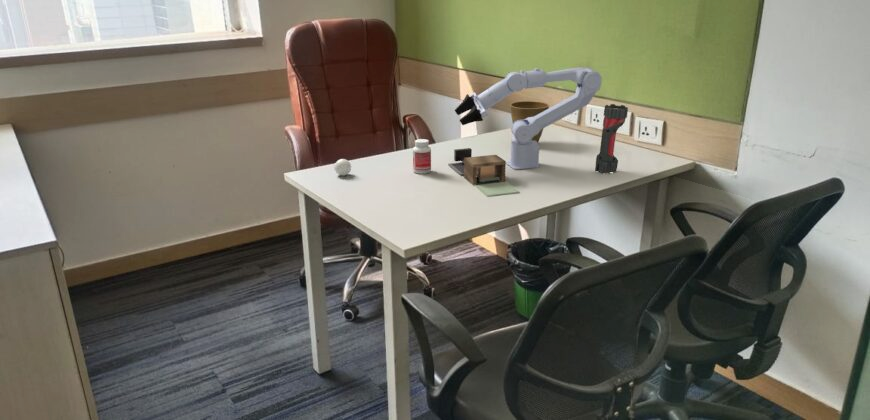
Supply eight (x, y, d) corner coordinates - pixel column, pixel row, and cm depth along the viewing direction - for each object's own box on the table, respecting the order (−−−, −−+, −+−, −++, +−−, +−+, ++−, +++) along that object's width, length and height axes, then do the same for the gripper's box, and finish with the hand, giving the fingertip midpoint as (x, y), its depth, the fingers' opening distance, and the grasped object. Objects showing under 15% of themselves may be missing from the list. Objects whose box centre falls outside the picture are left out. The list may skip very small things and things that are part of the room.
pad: (506, 182, 212) (506, 181, 212) (519, 192, 203) (519, 191, 203) (475, 186, 209) (475, 185, 209) (487, 196, 200) (487, 195, 200)
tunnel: (495, 174, 220) (495, 154, 218) (505, 181, 213) (505, 161, 211) (464, 177, 217) (464, 157, 214) (472, 185, 210) (473, 164, 207)
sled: (471, 158, 234) (471, 146, 233) (499, 179, 212) (500, 166, 210) (452, 160, 232) (453, 148, 231) (479, 181, 210) (480, 168, 208)
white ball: (355, 175, 220) (354, 159, 218) (342, 178, 216) (341, 162, 214) (340, 170, 225) (339, 154, 223) (327, 174, 221) (326, 158, 219)
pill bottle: (434, 172, 223) (434, 141, 219) (419, 175, 219) (419, 144, 215) (424, 167, 227) (424, 137, 223) (409, 170, 224) (409, 139, 220)
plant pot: (553, 143, 256) (556, 104, 251) (532, 151, 246) (535, 110, 240) (522, 137, 266) (524, 98, 260) (501, 144, 255) (502, 104, 249)
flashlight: (625, 172, 222) (632, 106, 214) (611, 176, 218) (618, 109, 209) (607, 166, 228) (613, 102, 220) (592, 171, 223) (598, 105, 215)
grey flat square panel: (479, 162, 234) (479, 160, 234) (493, 172, 222) (493, 170, 222) (448, 165, 230) (448, 163, 230) (461, 176, 219) (461, 174, 218)
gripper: (481, 78, 223) (448, 100, 226) (492, 96, 212) (457, 119, 214) (490, 93, 227) (458, 114, 230) (502, 112, 216) (467, 134, 218)
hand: (458, 117), depth 222 cm, fingers open, 7 cm apart
